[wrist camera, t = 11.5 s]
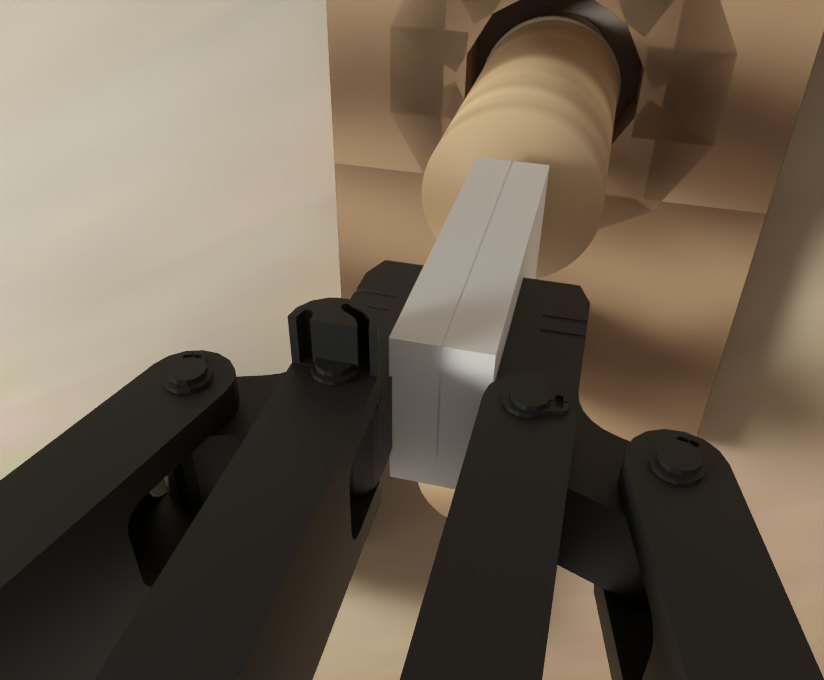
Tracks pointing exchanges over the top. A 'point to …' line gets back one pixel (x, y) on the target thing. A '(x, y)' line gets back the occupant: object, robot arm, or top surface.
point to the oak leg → (538, 128)
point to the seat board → (626, 181)
